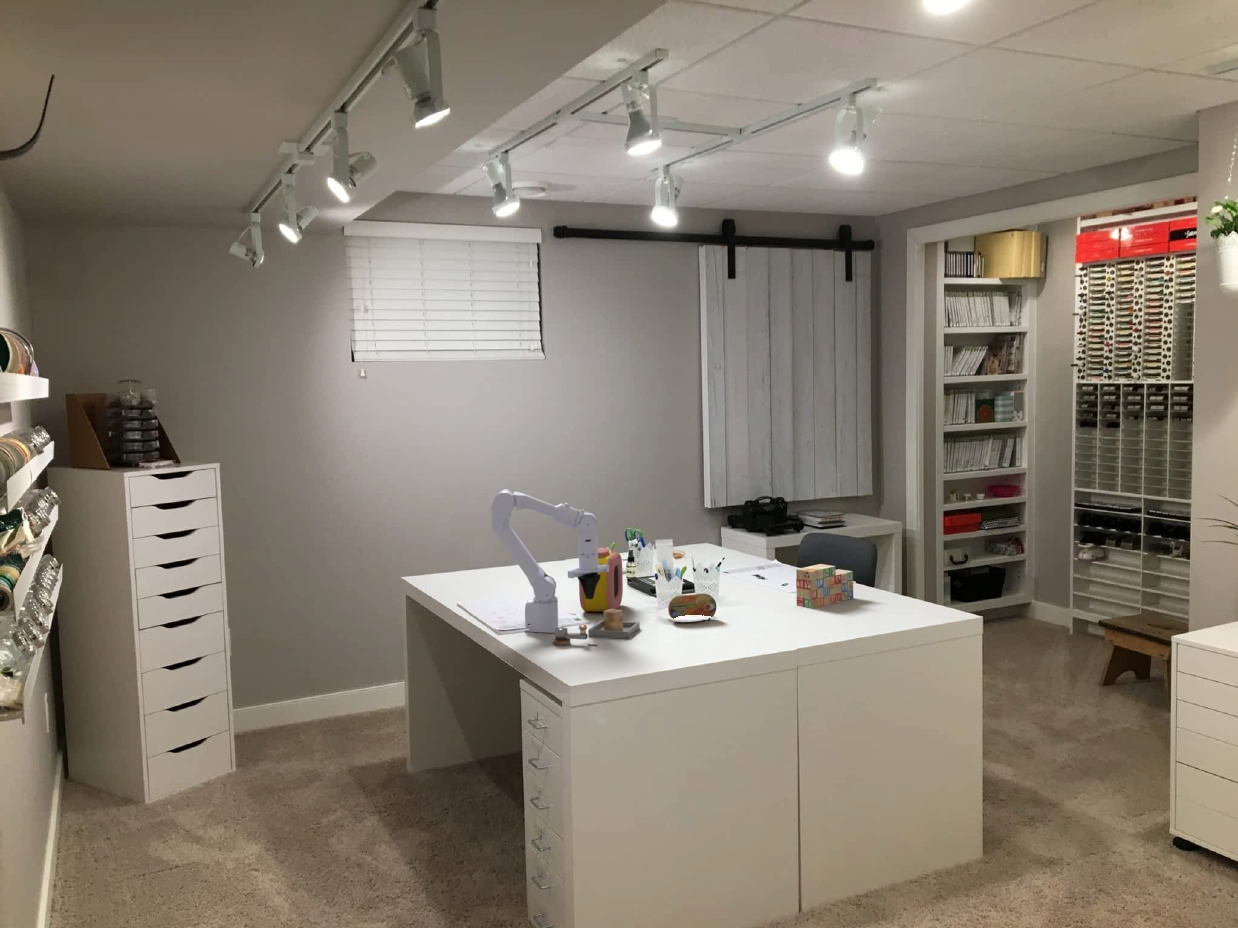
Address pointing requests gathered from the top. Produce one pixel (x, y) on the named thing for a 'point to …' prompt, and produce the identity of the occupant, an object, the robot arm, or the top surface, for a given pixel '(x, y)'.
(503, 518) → the robot arm
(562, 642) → the crank base
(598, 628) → the tray
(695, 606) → the tin
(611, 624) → the stop block
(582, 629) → the crank
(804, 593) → the stack of blocks
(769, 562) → the top surface
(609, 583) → the alarm clock
